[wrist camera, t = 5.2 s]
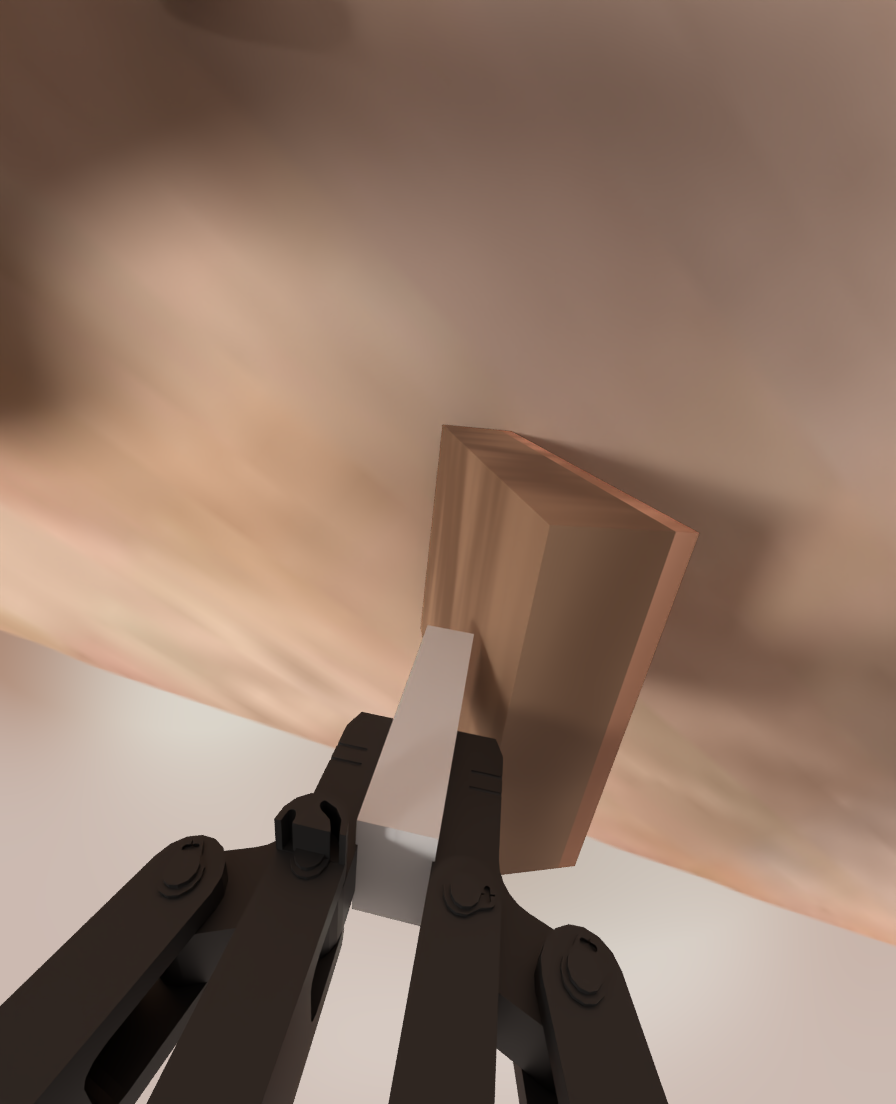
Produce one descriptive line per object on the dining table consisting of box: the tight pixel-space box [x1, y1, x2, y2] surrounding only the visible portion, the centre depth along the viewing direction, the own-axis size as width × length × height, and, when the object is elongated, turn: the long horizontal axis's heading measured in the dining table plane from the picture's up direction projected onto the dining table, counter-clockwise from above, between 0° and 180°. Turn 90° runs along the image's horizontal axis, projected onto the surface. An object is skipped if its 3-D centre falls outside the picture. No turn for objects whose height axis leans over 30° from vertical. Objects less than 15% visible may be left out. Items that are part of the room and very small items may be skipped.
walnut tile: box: [421, 425, 699, 875], centre depth 18 cm, size 4×12×14 cm, turn 173°
